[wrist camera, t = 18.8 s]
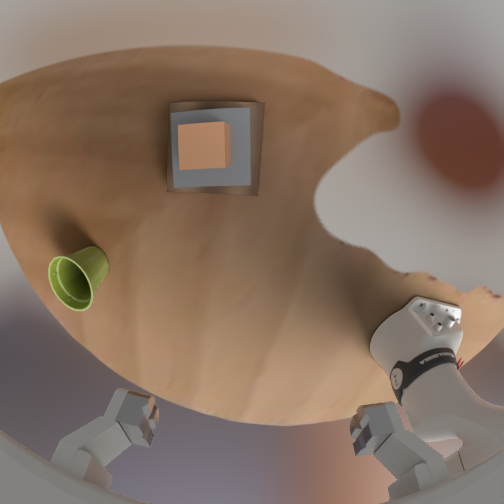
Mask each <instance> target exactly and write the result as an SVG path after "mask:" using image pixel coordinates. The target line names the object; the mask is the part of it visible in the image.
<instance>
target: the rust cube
mask: <svg viewBox="0 0 504 504" xmlns="http://www.w3.org/2000/svg"><path fill="white" fill-rule="evenodd" d="M178 149H179V170H190V169H209V168H226V167H228V166H229V165H231V136H230V125H229V124H228V123H226V122H224V121H222V122H207V123H194V124H184V125H178Z"/></svg>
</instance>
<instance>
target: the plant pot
mask: <svg viewBox="0 0 504 504" xmlns="http://www.w3.org/2000/svg"><path fill="white" fill-rule="evenodd" d="M108 271H109V263H108V261H107V258H106V255H105V254H104V252H103V251H102V250H101V249H99V248H97V247H95V246H89V247H86V248H84V249H82V250H79V251H77V252H75V253H73V254H70V255H65V256H63V255H61V256H57V257H55V258H53V259H52V261H51V262H50V264H49V268H48V277H49V282H50V285H51V287H52V289H53V291H54V293H55V295H56V296H57V297H58V299H59V300H60V301H61V302H62V303H63V304H64V305H66V306H67V307H68V308H70V309H73V310H76V311H84V310H86V309H88V308H89V307H90V306H91V304H92V302H93V297H94V293H95V291H96V290H97V288H98V287H99V285H100V284H101V282H102V281H103V279H104V278H105V276H106V275H107V273H108Z"/></svg>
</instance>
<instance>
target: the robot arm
mask: <svg viewBox="0 0 504 504" xmlns="http://www.w3.org/2000/svg"><path fill="white" fill-rule="evenodd" d="M460 319H461V309H460V307H458V306H455V305H451V304H447V303H443V302H439V301H435V300H431V299H427V298H423V297H418V296H417V297H415V298H413V299H412V300H411V301H410V302H409V303H408V304H407V305H406V306H405V307H404V308H403V309H401V310H399V311H398V312H396V313H394V314H393V315H391V316H390V317H388V318H387V319H386V320H385V321H384V322H383V323H382V324H381V325H380V326H379V327H378V328H377V330H376V331H375V333H374V335H373V337H372V339H371V342H370V353H371V355H372V357H373V358H374V359H375V360H376V361H377V362H378V363H379V364H380V366H381V367H382V368H383V370H384V371H385V373H386V374H387V376H388V377H389V379H390V381H391V385H392V388H393V391H394V393H395V396H396V398H397V400H398V402H399V404H400V405H401V406H402V407H403V408H404V410H405V413H406V415H407V418H408V421H409V423H410V426H411V428H412V431H413V433H414V434H413V433H412V432H410V431H409V430H405V428H404V426H403V423H402V420H401V418H400V415H399V413H398V410H397V408H396V405H395V403H394V402H393V401H389V402H384V403H376V404H369V405H362V406H359V407H358V409H357V410H356V411H357V414H356V415H354V416H353V417H352V419H351V421H350V433H351V436H352V437H353V438H354V439H355V441H354V443H353V447H354V451H355V456H361V455H368V454H374V456H375V457H376V458H377V459H378V460H379V461H380V462H381V463H382V464H383V465H384V466H385V467H386V468H387V469H388V470H389V471H390V472H391V473H392V474H393V475H394V476H395V477H396V478H397V479H398V480H396V481H395V482H394V483H392V484H391V485H390V486H389V487H388V491H389V496H390V498H389V500H388V502H384V503H381V504H504V406H503V407H502V406H496V405H493V404H490V403H487V402H485V401H484V400H482V399H481V398H479V397H478V396H477V395H476V394H475V393H474V392H473V390H472V389H471V388H470V387H469V385H468V384H467V383H466V381H465V380H464V378H463V377H462V376H461V374H460V373H459V371H458V370H459V369H460V367H461V366H462V364H463V362H464V361H463V362H462V363H461V360H462V358H460V360H459V361H458V363H457V362H456V357H455V355H456V353H457V350H458V348H459V346H460V343H461V341H462V336H463V331H462V328H461V326H460V325H459V322H460ZM460 363H461V364H460ZM459 365H460V366H459ZM158 420H159V410H158V407H157V406H156V405H155V398H154V396H151V395H146V394H142V393H137V392H133V391H130V390H126V389H122V388H118V389H117V390H116V391H115V393H114V395H113V397H112V400H111V402H110V404H109V406H108V408H107V410H106V412H105V415H104V416H103V417H101V416H100V417H98V418H97V419H95V420H93V421H92V422H90V423H88V424H87V425H85V426H83V427H81V428H80V429H78V430H76V431H75V432H73V433H71V434H69V435H68V436H66V437H64V438H62V439H61V440H60V443H59V445H58V447H57V449H56V451H55V453H54V455H53V457H52V459H51V462H48V461H46V460H44V459H43V458H41V457H39V456H38V455H36V454H35V453H33V452H31V451H30V450H28V449H27V448H25V447H24V446H22V445H20V444H19V443H18V442H16V441H15V440H14V439H12V438H11V437H10V436H8V435H7V434H5V433H4V432H3V431H1V430H0V504H150V503H146V502H142V501H139V500H136V499H133V498H129V497H126V496H123V495H120V494H117V493H115V492H112V491H109V488H110V484H111V481H112V475H111V474H110V473H109V472H108V471H107V470H106V469H105V468H104V466H105V465H107V464H108V463H109V462H110V461H112V460H113V459H114V458H115V457H117V456H118V455H119V454H120V453H121V452H123V451H124V450H125V449H126V448H127V447H129V446H130V445H131V443H133V444H137V445H141V446H145V447H151V444H152V440H153V437H154V434H153V432H152V429H154V428H156V427H157V424H158ZM450 438H458V439H461V440H462V441H463V445H462V447H461V448H459V450H457V451H456V452H454V453H453V454H451V455H450V456H448V457H447V458H445V459H443V456H442V455H441V454H440V453H438V452H437V451H436V450H434V449H433V448H432V447H430V446H429V445H428V444H426V443H425V442H424V441H427V442H434V441H441V440H446V439H450Z"/></svg>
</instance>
